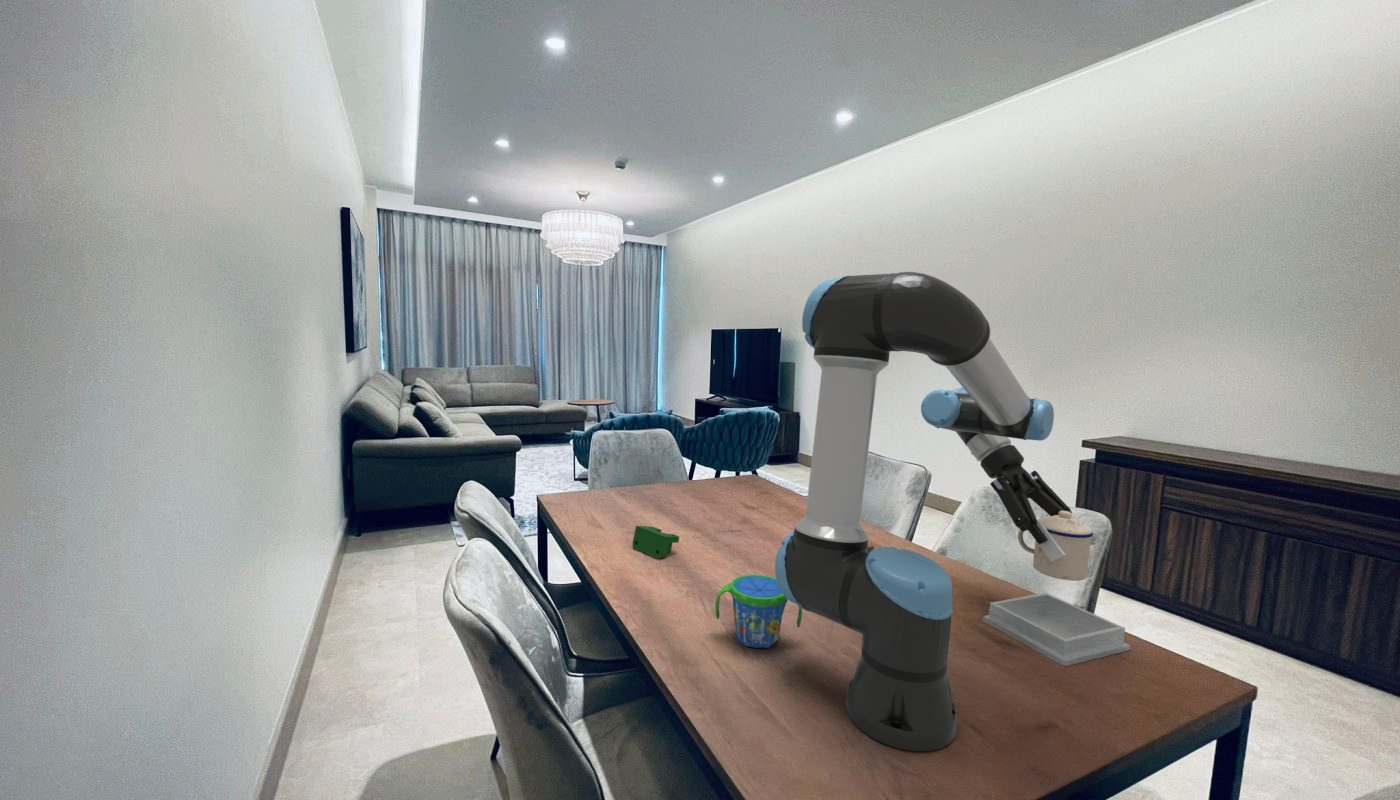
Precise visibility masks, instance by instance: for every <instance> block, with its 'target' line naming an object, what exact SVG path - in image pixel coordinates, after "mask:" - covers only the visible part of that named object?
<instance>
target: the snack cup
mask: <svg viewBox="0 0 1400 800" xmlns="http://www.w3.org/2000/svg"><path fill="white" fill-rule="evenodd" d="M726 592H728V593H730V595H731V597H732V608H733V617H734V618H733V619H734V626H735V631H734V632H735V636H736V639H737V640H738V641H739V642H740V643H742V644H743V645H744V646H745V647H751V648H757V649H759V648H760V649H761V648H766V649H769V648H770V647H771V646H772V645H774V644H775V643H776V642H777V641H778V638H779V635H780V630H781V625H782V624H781V623H782V621H783V614H784V610H785V607H786V605H787V602H788V601H789V600H788V599H787V598H786V597H785V596H784V594H783V593H782V592H781V590H780V588H779V586H778V583H777V580H776V577H773V576H769V575H763V574H745V575H740V576H736V577H735V578H733V579H732V581H731V582H729V583H727V584H725V585H724V586H722V587H721V589H720V590H718V593H717V596H716V600H715V606H714V609H715V610H714V613H715V618H716V620H719V619H720V597H721V595H724V593H726ZM797 606H798V615H797V618H796V619H797V620H796V627H797V628H800V626H801V624H802V618H803V610H802V609H803V608H801V607H800V606H799V605H797Z"/></svg>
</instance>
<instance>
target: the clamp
mask: <svg viewBox="0 0 1400 800" xmlns="http://www.w3.org/2000/svg"><path fill="white" fill-rule="evenodd" d="M634 530H635V531H634V534H633V538H632V547H633V548H634V549H635V550H637V551H639V552H642V553H645V554H647V555H649V556H651V557H654V558H657V559H664V558H667V555H668V553H671V552H672V547H673V544H674V543H676V544H678V543H679V542H680V536H679V535H677V534H674V533H666V532H665V533H664V532H662V529H660V528H658V527H654V526H646V525H636V526H635V529H634Z"/></svg>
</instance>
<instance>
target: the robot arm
mask: <svg viewBox="0 0 1400 800" xmlns="http://www.w3.org/2000/svg"><path fill="white" fill-rule="evenodd" d="M990 326H991V325H990V323H989V321H988V319H987V318H986V316H985V315H984V313H983V312H982V310H981V309H980V308H979V307H978V306H977V304H976V303H975V302H974V301H973V300H972V299H970V298H969V297H968V296H967V295H965V294H964V292H961V290H958V289H957V288H956V287H954V286H952V285H951V284H949V283H947V282H946V281H943V280H941V279H939V278H937V277H935V276H933V275H929V274H926V273H922V272H915V271H902V272H895V273H894V272H893V273H892V272H891V273H882V274H881V273H880V274H879V273H878V274H860V275H845V276H841V277H836V278H830V279H826V280H824V281H822V282H820V283H819V284H818V285H817V286H816V287H815V288H814V289H813V290H811V292H810V294H809V296H808V297H807V300H806V302H805V305H804V308H803V312H802V320H801V327H802V332H803V333H804V339H805V341H806V342H807V344H808V345H809V346H810V347H811V348H812V349H813V350H814V352H813V359H814V361H815V362H816V363H817V365H819V367H820V369H821V376H820V382H819V383H820V384H819V390H818V391H819V393H818V401H817V411H816V419H815V426H814V427H815V428H814V436H813V446H812V455H811V465H810V471H809V482H808V490H807V500H806V507H805V508H806V509H805V514H804V517H802V518H801V519H799V520H798V521H796V523H795V524H794V530H793V531H792V532H789V533H788V534H786V536H785V537H784V538H783V539H782V541H781V545H782V546H779V547H778V549H777V552H776V554H775V555H776V557H775V561H774V570H775V573H774V574H775V578H776V580H777V583H778V586H779V588H780V590H781V592H782V593H783V594H784V596H785V597H786V598H787V599H788V600H787V601H790V602H791V603H793V604H795V605H797V606H798V605H799V606H800V607H801V608H802V609H803V610H805V612H810V613H814V614H816V615H818V616H821V617H822V618H825V619H827V620H830V621H832V622H835V623H836V624H838V625H841V626H843V627H845V628H848V629H851V630H853V631H855V632H856V633H859V634H861V637H862V639H861V654H860V659H859V660H858V663H857V665H856V669H855V671H854V675H853V677H852V678H851V680H850V682H849V683H848V686H847V690H846V699H845V707H846V708H845V709H846V712H847V714H848V716H849V718H850V720H851V721H852V722H853V724H854V725H855V726H856V727H857V728H858V729H859V730H860V731H861V732H863V733H864V734H866V735H867V736H869V737H870V738H872V739H873V740H876V741H877V742H880V743H881V744H884V745H887V746H890V747H893V748H896V749H900V750H906V751H911V752H930V751H932V752H933V751H936V750H937V751H938V750H939V749H943V748H945V747H946V746H948V745H950V744H951V743H952V742H953V740H954V739H955V737H956V735H957V734H956V732H957V722H958V714H957V710H956V707H955V704H954V700H953V695H952V691H951V687H950V683H949V679H948V676H947V675H948V674H947V671H948V669H947V668H948V658H949V647H950V637H951V636H950V635H951V625H952V624H951V623H952V614H953V610H954V603H953V583H952V579H951V577H950V575H949V574H948V572H947V571H946V570H945V568H944V567H943V566H941V565H940V564H939V563H938V562H936V561H935V560H933V559H931V558H930V557H927V556H925V555H923V554H921V553H918V552H916V551H912V550H909V549H906V548H901V549H899V548H897V547H894V546H879V547H876V548H875V547H874V549H873V550H872V551H870V553H869V552H867V547H869V545H868V544H869V534H868V533H867V532H866V531H865V529H864V528H863V527H862V525H861V518H862V510H863V509H862V508H863V501H864V493H865V483H866V473H867V467H868V466H867V464H868V458H869V448H870V440H871V433H872V432H871V431H872V421H873V414H874V413H873V412H874V407H875V406H874V404H875V397H876V395H875V394H876V387H877V386H876V385H877V379H878V378H877V377H878V374H879V373H880V372H881V371H882V370H884V369H885V368H886V367H887V366H889V364H890V363H889V362H890V352H909V353H917V354H922V355H925V356H927V357H928V358H929V359H930V360H931V361H932V362H934V364H936V365H940V366H943V367H946V369H947V370H948V371H949V372H950V374H951V375H952V376H953V377H954V378H955V380H956V381H957V382H958V384H959V385H960V386H961V387H959V388H954V389H953V390H949V389H947V390H946V389H936V390H935V389H934V390H932V391H930V392H928V393H927V394H926V395H925V396H924V398H923V400H922V402H921V405H920V412H921V415H922V417H923V420H924V421H925V422H926V423H927V424H929V425H930V426H933V427H935V428H937V429H942V430H943V429H944V430H948V431H951V432H952V431H953V432H955V433H956V434H957V435H958V437H960V439H961V440H962V442H963V443H964V445H965V446H966V447H967V449H968V450H969V452H970V454H971V455H972V456H973V457H974V459H976V461H977V462H980V466H981V468H982V469H983V471H984V472H985V473H986V475H987V476H988V478H990V479H992V480H993V479H994V480H993V481H991V482H990V483H989V484H990V486H991V487H992V489H993V490H994V491H995V493H996V494H997V495H998V497H999V499H1000V500H1001V502H1002V504H1003V506H1004V507H1005V509H1006V512H1007V513H1008V515H1009V517H1010V518H1011V520H1012V522H1013V524H1014V525H1015V527H1017V528H1018V529H1019V531H1020V530H1021V531H1023V533H1025V532H1027V531H1026V530H1027V529H1028V532H1029V533H1030V534H1031V536H1032V537H1033V538H1034V541H1035V540H1036V541H1037V543H1038V544H1039V546H1040V547H1041V548H1042V550H1043V551H1044V552H1045V554H1046V555H1047V556H1048V558H1049V559H1050V561H1051V562H1053V561H1055V560H1057V559H1059V558H1061V557H1063V556H1065V555H1066V554H1065V553H1064V551H1063V550H1062V549H1061V547H1060V546H1059V545H1058V543H1057V542H1056V541H1055V539H1054V538H1053V537H1052V535H1051V534H1050V533H1049V532H1048V531H1047V529H1046V527H1045V526H1044V525H1043V523H1039V524H1037V523H1038V521H1037V520H1038V519H1037V516H1036V514H1035V512H1034V510H1033V507H1032V506H1031V503H1030V500H1032V501H1033V502H1034V503H1035V504H1036V505H1037V506H1039V507H1040V508H1041V509H1042V510H1043V511H1044V512H1045V513H1047V515H1049V517H1051V516H1054V515H1059V512H1060V511H1068V512H1070V513H1071V514H1073V513H1072V510H1071V508H1070V507H1069V506H1068V505H1067V503H1065V502H1064V501H1063V500H1062V498H1061V497H1060V496H1058V495H1057V493H1056V492H1055V491H1054V490H1053V489H1052V488H1051V487H1050V486H1049V485H1048V484H1047V483H1046V482H1045V481H1044V480H1043V478H1042V477H1041V476H1040V473H1038V472H1037V471H1036V470H1033V471H1031V472H1028V471H1027V470H1026V469H1025V468H1024V467H1023V466H1022V464H1023V463H1024V460H1025V457H1024V456H1023V455H1022V454H1021V452H1020V451H1019V450H1018V449H1017V447H1016V446H1015V445H1013V444H1012V441H1011V438H1013V439H1018V440H1023V441H1026V440H1029V441H1030V440H1032V441H1039V442H1040V441H1041V442H1042V441H1045V440H1046V439H1048V438H1049V436H1050V435H1051V433H1052V431H1053V425H1054V421H1055V420H1054V418H1055V413H1054V412H1055V411H1054V406H1053V405H1052V403H1051V402H1050V401H1048V400H1044V399H1038V398H1036V397H1035V398H1030V397H1029V396H1028V394H1027V393H1026V392H1025V390H1024V389H1023V387H1022V386H1021V384H1020V382H1019V381H1018V379H1017V377H1016V376H1015V374H1014V373H1013V372H1012V370H1011V368H1010V367H1009V366H1008V364H1007V362H1006V360H1005V359H1004V358H1003V356H1002V355H1001V353H1000V352H999V350H998V349H997V347H996V345H995V344H994V342H993V341H992V339H991V327H990ZM1029 499H1030V500H1029ZM1091 547H1092V545H1091V544H1090V548H1091Z"/></svg>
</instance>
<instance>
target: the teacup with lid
mask: <svg viewBox="0 0 1400 800" xmlns="http://www.w3.org/2000/svg"><path fill="white" fill-rule="evenodd" d="M1072 514H1073V513H1072ZM1072 514H1071V513H1070V512H1068V511H1060V512H1059V515H1054V516H1049V517H1041V518H1038V519H1037V521H1038V523H1037V524H1039V523H1043V525H1044V526H1045V527H1046V529H1047V531H1048V532H1049V533H1050V534H1051V535H1052V537H1053V538H1054V539H1055V541H1056V542H1057V543H1058V545H1059V546H1060V547H1061V549H1062V550H1063V551H1064V553H1065V554H1066V555H1065V556H1063V557H1061V558H1059V559H1057V560H1055V561H1053V562H1051V561H1050V559H1049V558H1048V556H1047V555H1046V554H1045V552H1044V551H1043V550H1042V548H1041V547H1040V546H1039V544H1038V543H1037V541H1036V540H1035V539H1034V541H1035V542H1034V548H1031V547H1029V545H1027V544H1026V542H1025V541H1024V540H1025V539H1024V532H1023V531H1021V530H1020V529H1019V530H1018V533H1017V540H1018V543H1019V545H1020V547H1021V548H1022V549H1023V550H1024V551H1025V552H1027V553H1030V554H1033V562H1032V566H1033V569H1034V570H1036V571H1037V572H1038V573H1040V574H1043V575H1045V576H1047V577H1050V578H1055V579H1058V580H1063V581H1072V582H1073V581H1074V582H1075V581H1076V582H1079V581H1083V580H1086V578H1087V577H1088V570H1089V561H1090V551H1091V547H1090V545H1091V541H1092V537H1093V535H1094V532H1093V529H1092V528H1091V527H1090V526H1088V525H1087V524H1084V523H1081V522H1080V521H1079V520H1078V519H1076V518H1074V517H1072V516H1073V515H1072ZM1027 531H1028V529H1027V530H1026V531H1025V532H1027ZM1028 532H1029V531H1028Z"/></svg>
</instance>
